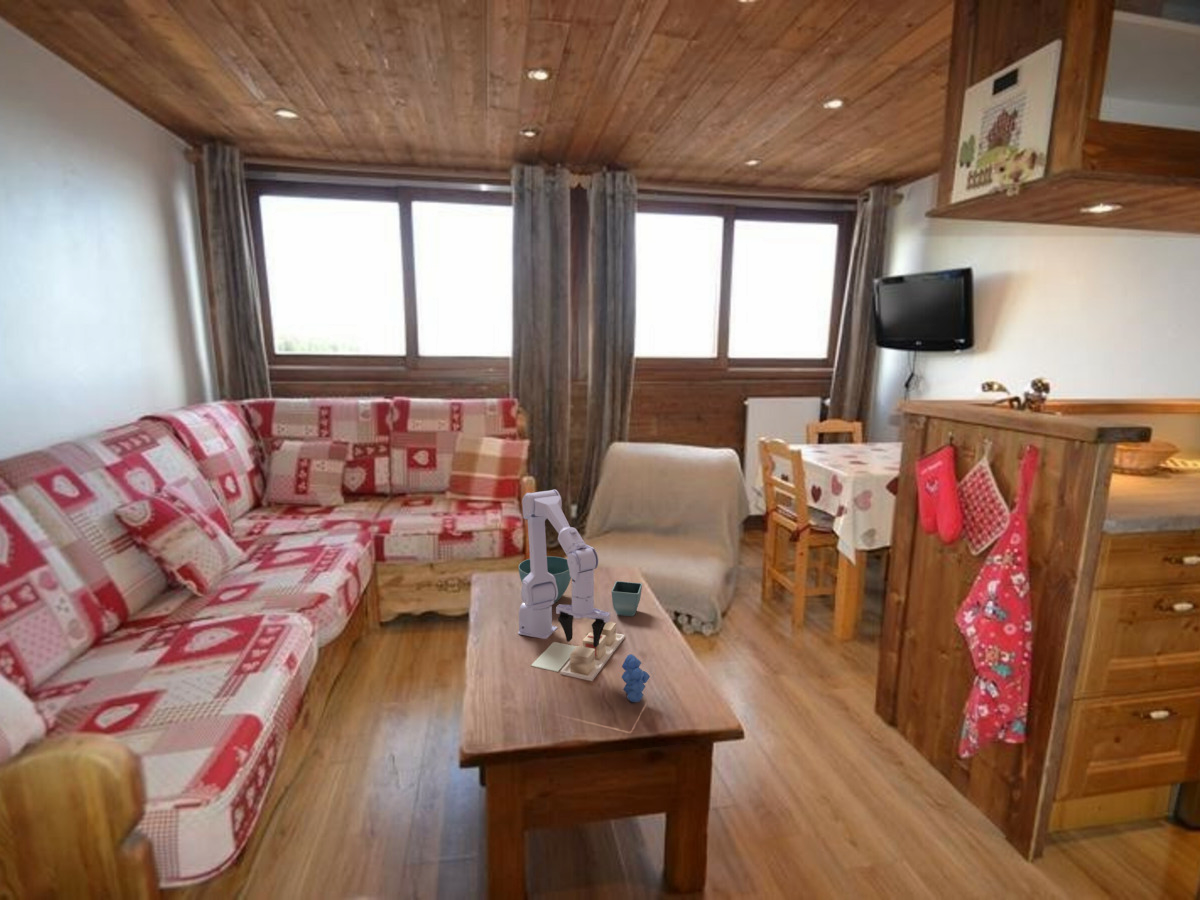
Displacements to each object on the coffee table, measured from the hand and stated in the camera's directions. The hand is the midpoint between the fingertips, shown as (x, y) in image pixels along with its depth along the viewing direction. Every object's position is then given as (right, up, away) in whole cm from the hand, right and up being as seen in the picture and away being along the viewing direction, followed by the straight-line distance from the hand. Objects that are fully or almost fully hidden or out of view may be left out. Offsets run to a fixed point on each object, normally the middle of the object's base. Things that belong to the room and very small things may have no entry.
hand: (582, 642), depth 157 cm
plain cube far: (+6, -5, +16) cm, 18 cm away
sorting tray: (+3, -7, +9) cm, 11 cm away
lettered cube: (+3, -6, +9) cm, 11 cm away
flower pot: (+13, -2, +36) cm, 38 cm away
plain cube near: (0, -7, +1) cm, 8 cm away
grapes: (+13, -10, -12) cm, 21 cm away
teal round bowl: (-14, 0, +46) cm, 48 cm away
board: (-8, -7, +8) cm, 13 cm away
